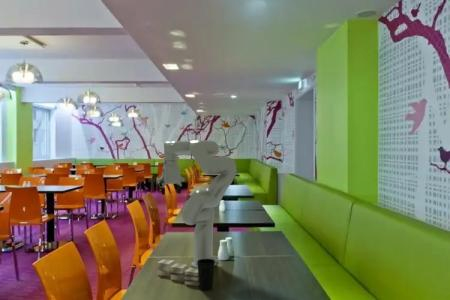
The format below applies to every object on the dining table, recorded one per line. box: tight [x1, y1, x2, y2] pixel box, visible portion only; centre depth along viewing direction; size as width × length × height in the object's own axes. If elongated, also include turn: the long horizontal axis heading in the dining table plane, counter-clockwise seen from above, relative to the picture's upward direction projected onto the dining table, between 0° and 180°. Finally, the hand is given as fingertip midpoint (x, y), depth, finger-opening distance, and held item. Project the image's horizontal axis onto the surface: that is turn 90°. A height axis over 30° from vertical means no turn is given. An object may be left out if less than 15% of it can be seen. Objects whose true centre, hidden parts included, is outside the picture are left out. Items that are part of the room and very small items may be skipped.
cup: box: [197, 259, 216, 292], centre depth 183 cm, size 8×8×12 cm
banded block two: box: [183, 267, 199, 287], centre depth 191 cm, size 6×6×6 cm
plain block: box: [156, 258, 175, 277], centre depth 204 cm, size 6×6×6 cm
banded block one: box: [170, 262, 189, 282], centre depth 198 cm, size 6×6×6 cm
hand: (171, 193), depth 238 cm, fingers open, 9 cm apart
